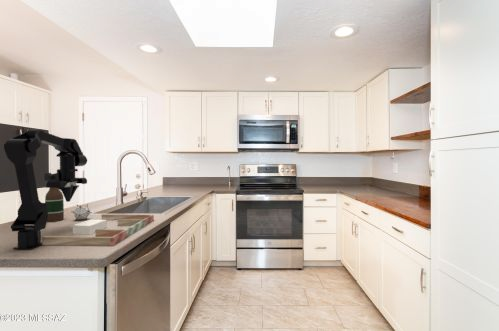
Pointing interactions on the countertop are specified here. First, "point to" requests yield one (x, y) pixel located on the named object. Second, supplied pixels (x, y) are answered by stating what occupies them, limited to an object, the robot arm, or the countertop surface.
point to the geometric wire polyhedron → (81, 212)
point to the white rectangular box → (89, 226)
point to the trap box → (104, 232)
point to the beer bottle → (54, 205)
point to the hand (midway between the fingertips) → (68, 201)
